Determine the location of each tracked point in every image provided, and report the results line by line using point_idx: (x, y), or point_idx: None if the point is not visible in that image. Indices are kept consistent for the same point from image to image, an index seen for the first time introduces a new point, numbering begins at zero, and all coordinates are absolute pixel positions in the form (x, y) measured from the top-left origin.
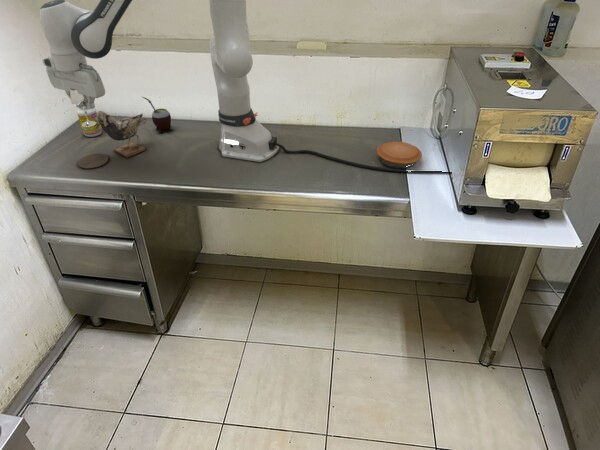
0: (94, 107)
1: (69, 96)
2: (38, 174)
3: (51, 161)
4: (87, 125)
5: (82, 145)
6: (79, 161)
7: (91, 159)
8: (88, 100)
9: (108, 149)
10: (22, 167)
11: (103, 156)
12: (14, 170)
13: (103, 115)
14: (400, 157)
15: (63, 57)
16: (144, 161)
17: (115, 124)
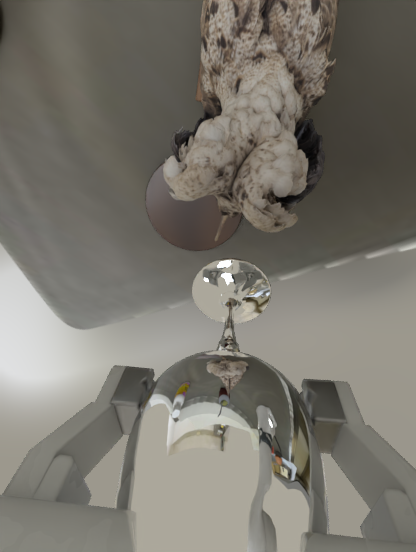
0: (344, 384)
1: (98, 460)
2: (128, 311)
3: (86, 256)
4: (246, 315)
5: (47, 128)
6: (159, 229)
7: (181, 202)
8: (373, 502)
9: (159, 98)
10: (63, 304)
11: None
12: (64, 319)
13: (267, 215)
14: None
15: None
16: (376, 102)
17: (321, 162)
